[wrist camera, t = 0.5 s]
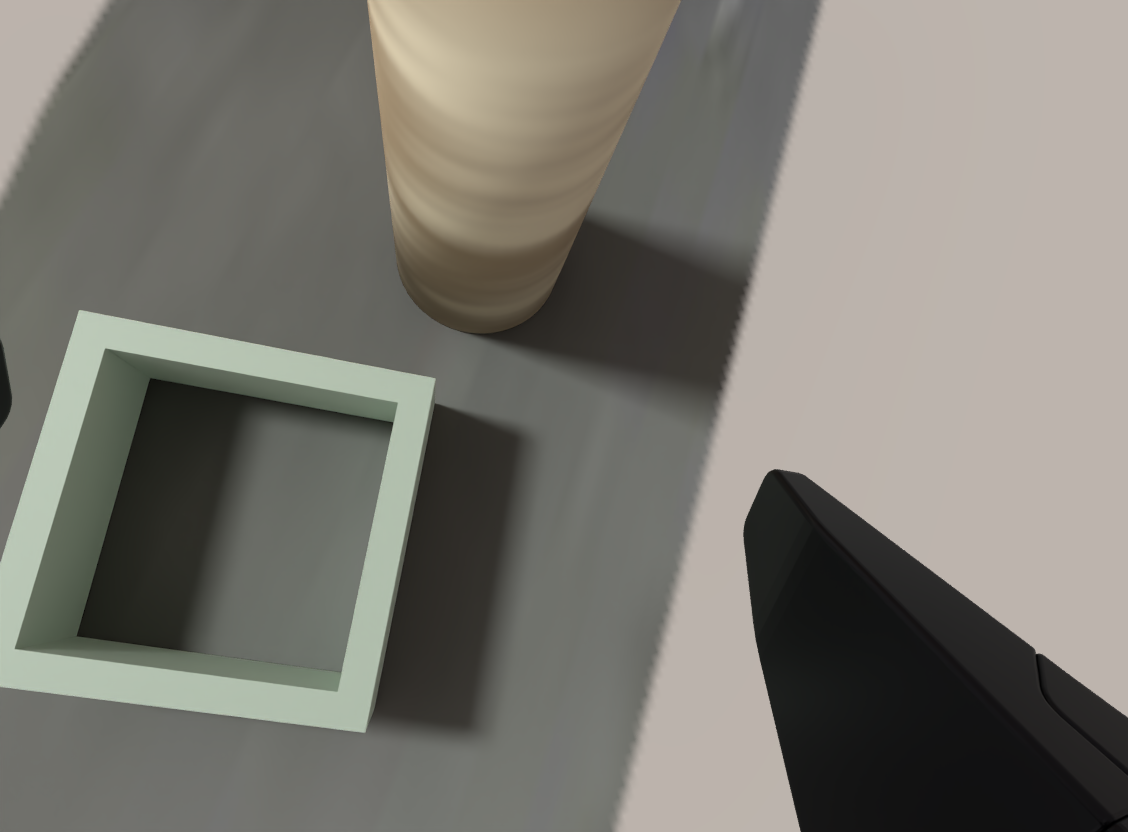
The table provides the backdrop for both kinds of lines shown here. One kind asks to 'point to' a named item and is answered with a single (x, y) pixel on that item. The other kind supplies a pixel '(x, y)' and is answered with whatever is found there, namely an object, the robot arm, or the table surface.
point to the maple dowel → (501, 139)
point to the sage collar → (86, 499)
